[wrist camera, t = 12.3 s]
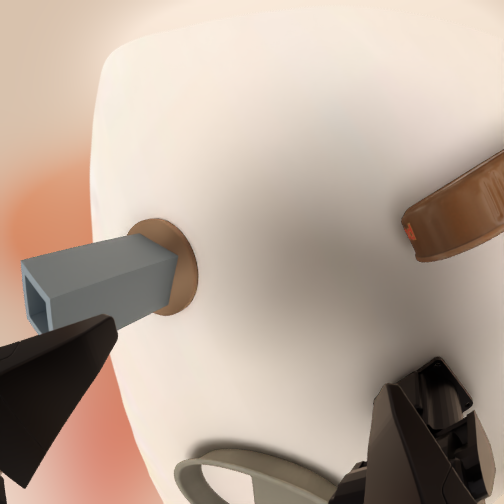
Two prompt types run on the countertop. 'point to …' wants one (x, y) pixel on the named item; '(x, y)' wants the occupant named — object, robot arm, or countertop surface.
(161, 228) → the pin base
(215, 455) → the cake pan
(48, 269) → the sleeve
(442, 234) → the tin
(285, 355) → the countertop surface
